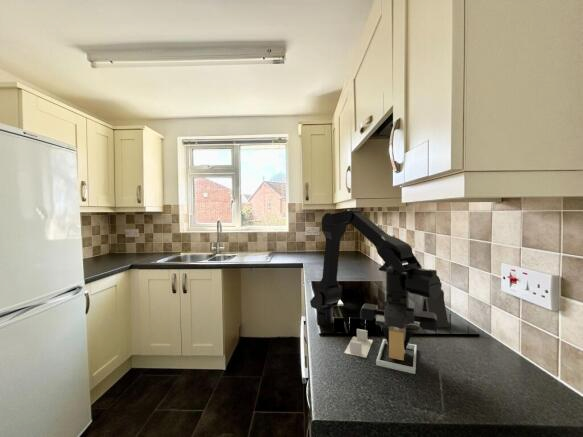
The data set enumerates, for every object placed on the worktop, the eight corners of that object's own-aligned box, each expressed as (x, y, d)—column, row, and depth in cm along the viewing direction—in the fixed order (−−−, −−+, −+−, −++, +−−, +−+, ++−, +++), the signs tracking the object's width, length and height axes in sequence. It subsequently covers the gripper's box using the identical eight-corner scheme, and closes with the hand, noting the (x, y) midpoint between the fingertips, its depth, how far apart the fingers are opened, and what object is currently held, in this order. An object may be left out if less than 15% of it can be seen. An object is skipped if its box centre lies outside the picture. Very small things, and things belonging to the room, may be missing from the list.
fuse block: (353, 338, 85) (353, 326, 85) (372, 342, 82) (372, 330, 82) (343, 355, 75) (343, 341, 75) (366, 360, 72) (366, 346, 72)
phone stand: (419, 318, 101) (419, 286, 101) (435, 318, 101) (435, 286, 101) (431, 328, 92) (431, 293, 92) (448, 328, 92) (448, 293, 92)
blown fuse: (391, 345, 76) (391, 318, 76) (405, 348, 75) (405, 320, 75) (388, 357, 70) (388, 327, 70) (403, 360, 69) (403, 329, 68)
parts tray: (383, 345, 80) (383, 338, 80) (416, 352, 76) (416, 345, 76) (376, 368, 69) (376, 360, 69) (415, 377, 65) (415, 368, 65)
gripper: (355, 293, 69) (355, 354, 69) (438, 303, 61) (438, 372, 61) (363, 283, 79) (364, 336, 79) (436, 290, 71) (436, 349, 71)
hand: (397, 347), depth 73 cm, fingers closed on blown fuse, 3 cm apart
